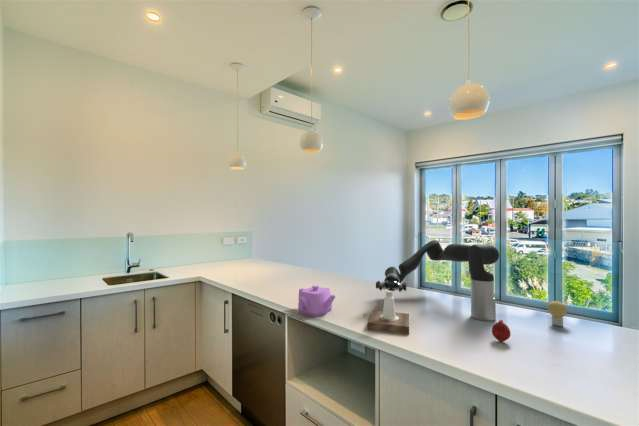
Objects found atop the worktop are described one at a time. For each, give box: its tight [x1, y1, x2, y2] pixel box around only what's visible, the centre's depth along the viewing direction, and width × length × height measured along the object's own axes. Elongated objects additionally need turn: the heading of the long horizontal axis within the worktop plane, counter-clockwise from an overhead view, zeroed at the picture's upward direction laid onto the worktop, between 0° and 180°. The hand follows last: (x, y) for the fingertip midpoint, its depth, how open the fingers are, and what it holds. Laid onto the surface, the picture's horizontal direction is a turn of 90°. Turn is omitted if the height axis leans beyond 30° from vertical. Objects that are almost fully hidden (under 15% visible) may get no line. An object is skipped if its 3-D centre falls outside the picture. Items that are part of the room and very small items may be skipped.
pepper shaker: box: [382, 290, 396, 319], centre depth 121 cm, size 5×5×11 cm
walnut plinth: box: [367, 309, 410, 335], centre depth 121 cm, size 16×16×3 cm
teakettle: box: [297, 285, 336, 318], centre depth 138 cm, size 17×17×12 cm
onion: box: [491, 319, 511, 343], centre depth 104 cm, size 6×6×8 cm
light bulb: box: [547, 300, 568, 327], centre depth 121 cm, size 6×6×10 cm
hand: (390, 288), depth 132 cm, fingers open, 8 cm apart
